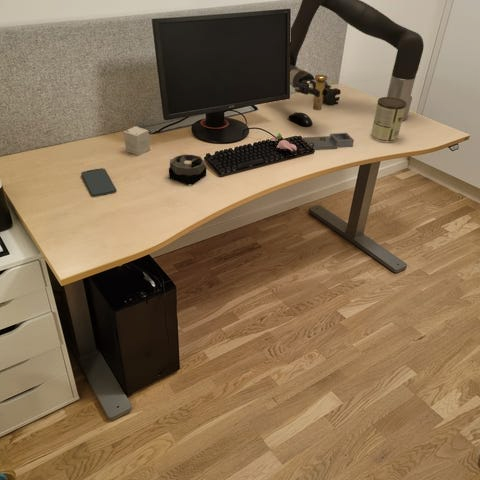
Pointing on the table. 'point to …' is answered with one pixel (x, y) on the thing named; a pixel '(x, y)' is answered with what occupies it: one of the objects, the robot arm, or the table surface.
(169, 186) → the table surface
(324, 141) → the grey tray fixture
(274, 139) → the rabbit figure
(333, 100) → the end cap
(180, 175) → the cpu cooler
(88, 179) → the smartphone
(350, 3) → the robot arm
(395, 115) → the coffee can
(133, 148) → the skincare box
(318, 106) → the hinge pin
